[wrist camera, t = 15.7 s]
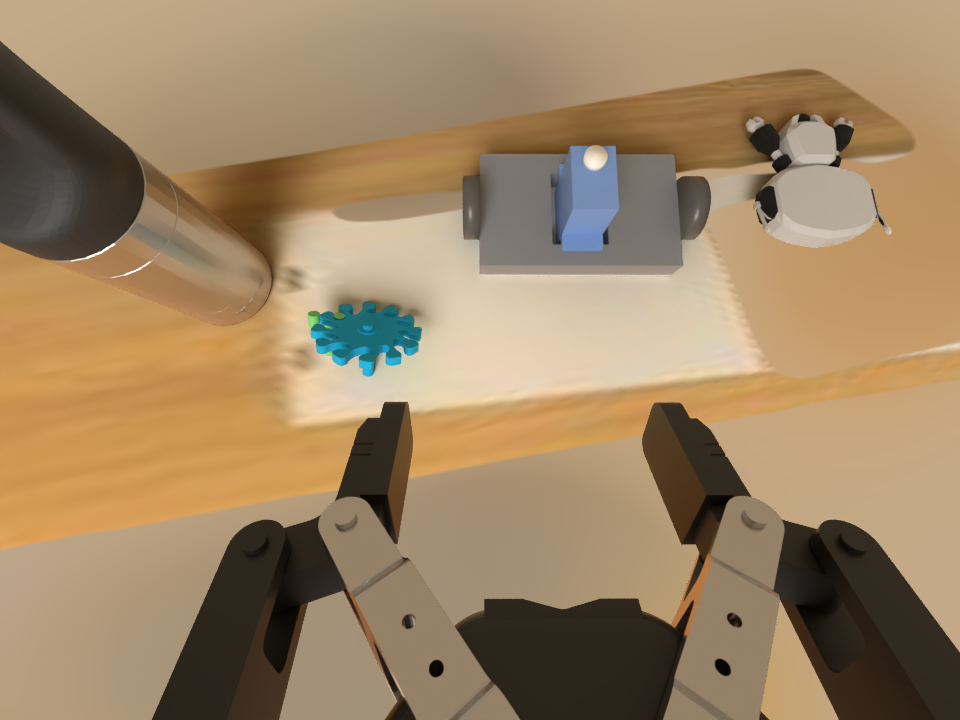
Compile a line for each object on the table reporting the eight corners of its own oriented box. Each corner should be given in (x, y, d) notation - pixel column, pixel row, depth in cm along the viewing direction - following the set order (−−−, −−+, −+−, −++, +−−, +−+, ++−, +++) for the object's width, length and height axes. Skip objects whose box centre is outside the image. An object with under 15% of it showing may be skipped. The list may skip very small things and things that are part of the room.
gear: (439, 316, 42) (389, 369, 35) (434, 363, 46) (387, 422, 38) (343, 284, 44) (274, 328, 37) (344, 331, 48) (282, 381, 40)
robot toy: (725, 135, 49) (744, 256, 45) (750, 103, 44) (773, 234, 41) (833, 136, 49) (859, 256, 45) (868, 104, 44) (900, 234, 41)
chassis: (684, 276, 45) (715, 253, 39) (464, 276, 45) (462, 253, 39) (676, 171, 47) (705, 134, 41) (465, 170, 47) (463, 133, 41)
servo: (594, 260, 45) (623, 220, 36) (556, 260, 45) (575, 220, 36) (591, 181, 46) (617, 124, 37) (554, 181, 46) (571, 124, 37)
